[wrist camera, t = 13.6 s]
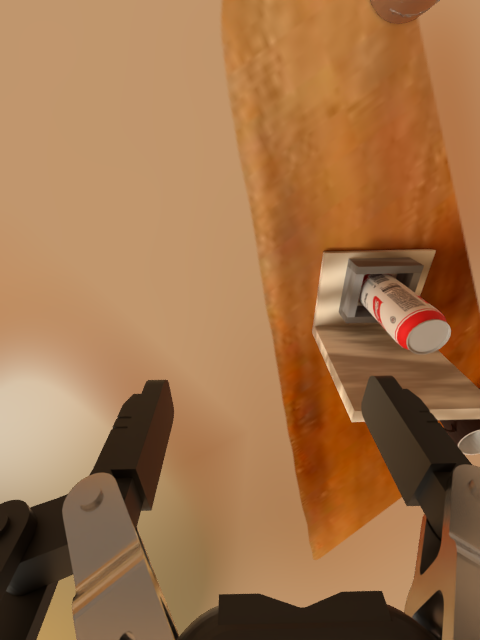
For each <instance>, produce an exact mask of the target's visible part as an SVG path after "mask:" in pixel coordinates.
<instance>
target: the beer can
mask: <svg viewBox="0 0 480 640" xmlns="http://www.w3.org/2000/svg"><path fill="white" fill-rule="evenodd" d="M359 301H360V302H361V303H362V304H363V305H364V307H365V308H366V309H367V310H368V311H369V312H370V313H371V314H372V316H373V317H374V318H375V319H376V320H377V321H378V322H379V323H380V324H381V326H382V327H383V328H384V329H385V330H386V331H387V332H388V333H389V335H390V336H391V337H392V338H393V339H394V340H395V341H396V342H397V343H398V344H399V345H400V346H401V347H403V348H405V349H408V350H410V351H411V352H413V353H416V354H428V353H432V352H434V351H436V350H438V349H440V348H441V347H442V346H444V344H445V343H446V342H447V341H448V339H449V337H450V335H451V329H450V326H449V325H448V324H447V322H446V319H445V317H444V315H443V314H442V313H441V312H440V311H439V310H437V309H436V308H435V307H433V306H432V305H431V304H429V303H428V302H427V301H425V300H424V299H423V298H421V297H420V296H419V295H417V294H416V293H414V292H413V291H412V290H410V289H409V288H408V287H406V286H405V285H404V284H402V283H401V282H400V281H398V280H397V279H395V278H394V277H393V276H391V275H390V274H366V275H365V276H364V278H363V282H362V287H361V291H360V295H359Z"/></svg>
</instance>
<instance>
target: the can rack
mask: <svg viewBox="0 0 480 640" xmlns="http://www.w3.org/2000/svg"><path fill="white" fill-rule="evenodd" d="M435 252H436V251H435V250H433V249H411V250H367V251H323V258H322V265H321V272H320V279H319V287H318V294H317V301H316V308H315V315H314V323H313V330H312V333H313V336H314V338H315V340H316V342H317V345H318V347H319V349H320V351H321V354H322V356H323V358H324V360H325V363H326V365H327V367H328V369H329V372H330V374H331V376H332V379H333V381H334V383H335V385H336V388H337V390H338V392H339V394H340V397H341V399H342V401H343V403H344V406H345V408H346V410H347V412H348V415H349V417H350V419H351V421H352V422H365V420H364V418H363V415H362V411H361V403H362V399H363V396H364V393H365V389H366V386H367V383H368V379H369V377H370V376H386V375H391V376H393V377H394V378H395V379H396V380H397V382H398V383H399V384H400V386H401V387H402V389H409V390H410V391H411V392H412V393H414V394H415V395H416V396H418V397H419V398H420V399H421V400H422V401H423V402H424V404H425V405H426V406H427V408H428V409H429V410H430V413H432V414H433V415H434V417H435V418H436V419H437V420H460V419H480V389H478V388H477V387H476V386H475V385H474V384H473V383H472V382H471V381H470V380H469V379H468V378H467V377H466V376H465V375H464V374H462V373H461V372H460V371H459V370H458V369H457V368H456V367H455V366H454V365H453V364H452V363H451V362H450V361H449V360H448V359H446V358H445V357H444V356H443V355H442V354H441V353H440V352H439V351H438V350H436V351H434V352H432V353H428V354H416V353H413V352H411V351H410V350H408V349H405V348H403V347H401V346H400V345H399V344H398V343H397V342H396V341H395V340H394V339H393V338H392V337H391V336H390V335H389V333H388V332H387V331H386V330H385V329H384V328H383V327H382V326H381V324H380V323H379V322H378V321H377V320H376V319H375V318H374V317H373V316H372V314H371V313H370V312H369V311H368V310H367V309H366V308H365V307H364V305H363V304H362V303H361V302H360V301H359V295H360V291H361V287H362V282H363V278H364V276H365V275H366V274H390V275H391V276H393V277H394V278H395V279H397V280H398V281H400V282H401V283H402V284H404V285H405V286H406V287H408V288H409V289H410V290H412V291H413V292H414V293H416V294H417V295H419V296H420V295H421V292H422V289H423V286H424V283H425V280H426V278H427V275H428V272H429V269H430V266H431V263H432V261H433V258H434V255H435Z"/></svg>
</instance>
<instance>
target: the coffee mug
mask: <svg viewBox="0 0 480 640" xmlns="http://www.w3.org/2000/svg"><path fill="white" fill-rule="evenodd" d="M440 421H441V423H442V425H443V426H444V429H445V431H446V432H447V433H448V434H449V436H450V437H451V438H452V440H453V441H454V442H455V444H456V445H457V446H458V447H459V449H460V450H461V451H462V453H463V454H466V455H475V454H480V419H460V420H440Z"/></svg>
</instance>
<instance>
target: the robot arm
mask: <svg viewBox="0 0 480 640" xmlns="http://www.w3.org/2000/svg"><path fill="white" fill-rule="evenodd" d="M370 1H371V4H372V6H373V7H374V9H375V11H376V12H377V14H378V15H379V16H380V17H382V18H383V19H384V20H386V21H388V22H390V23H397V24H400V23H406V22H409V21H412V20H414V19H416V18H417V17H419V16H420V15H421V14H423V13H424V12H426V11H427V10H428V9H430V8H431V7H432V6H433V5H434V4H436V3H437V2H438V1H439V0H370ZM361 411H362V415H363V418H364V420H365V422H366V424H367V426H368V428H369V431H370V433H371V435H372V437H373V439H374V441H375V443H376V445H377V447H378V449H379V451H380V453H381V455H382V457H383V459H384V461H385V463H386V465H387V467H388V469H389V471H390V473H391V475H392V477H393V479H394V481H395V483H396V485H397V487H398V489H399V491H400V493H401V495H402V497H403V499H404V501H405V503H406V505H407V506H421V508H422V509H423V512H424V513H425V514H424V516H423V519H422V525H421V532H420V539H419V546H418V553H417V560H416V567H415V574H414V579H413V583H412V586H411V588H410V590H409V593H408V596H407V600H406V604H405V609H404V612H402V611H400V610H398V609H396V608H394V607H392V606H390V605H387V604H386V602H385V599H384V596H383V593H382V591H361V592H360V591H357V592H340V593H338V594H336V595H333V596H331V597H329V598H326V599H324V600H322V601H319V602H318V603H315V604H313V605H310V606H308V607H305V608H300V607H296V606H294V605H291V604H288V603H285V602H282V601H279V600H276V599H273V598H270V597H267V596H264V595H261V594H223V595H219V606H217V607H214V608H212V609H210V610H208V611H207V612H205V613H204V614H202V615H200V616H199V617H198V618H197V619H196V620H194V621H193V622H192V623H191V624H190V625H189V626H188V627H187V628H186V629H185V630H184V632H183V633H182V634H181V635H180V636H179V634H178V631H177V629H176V626H175V623H174V621H173V618H172V615H171V613H170V610H169V608H168V605H167V603H166V600H165V598H164V595H163V593H162V591H161V588H160V586H159V583H158V581H157V578H156V575H155V573H154V570H153V568H152V565H151V563H150V560H149V557H148V555H147V552H146V549H145V547H144V544H143V541H142V539H141V536H140V534H139V531H138V528H137V523H138V519H139V516H140V512H141V511H144V510H146V511H147V510H151V509H152V505H153V501H154V497H155V493H156V489H157V485H158V481H159V477H160V473H161V469H162V464H163V460H164V456H165V452H166V448H167V444H168V440H169V436H170V432H171V428H172V424H173V418H174V407H173V402H172V397H171V392H170V387H169V383H168V380H148V381H147V382H146V384H145V386H144V389H143V391H142V394H133V395H132V396H131V397H130V398H129V399H128V400H127V401H126V402H125V403H124V404H123V406H122V408H121V410H120V412H119V415H118V418H117V419H116V421H115V423H114V425H113V429H112V430H111V432H110V434H109V436H108V438H107V440H106V443H105V445H104V447H103V449H102V451H101V453H100V455H99V457H98V460H97V462H96V464H95V466H94V469H93V470H92V472H91V473H90V475H89V476H88V477H86V478H84V479H82V480H81V481H80V482H78V483H77V484H76V485H75V486H74V487H73V488H72V490H71V491H70V492H69V493H68V494H67V495H65V496H62V497H60V498H57V499H54V500H51V501H48V502H45V503H42V504H39V505H36V506H33V507H31V508H30V507H29V506H28V505H27V504H26V503H25V502H24V501H21V500H11V501H7V502H4V503H2V504H0V640H36V639H37V636H38V634H39V631H40V628H41V626H42V623H43V621H44V618H45V615H46V613H47V610H48V607H49V605H50V602H51V599H52V597H53V594H54V592H55V589H56V586H57V583H58V581H59V580H61V579H63V578H66V577H68V576H70V575H72V574H73V575H74V581H75V587H76V595H75V597H74V598H73V602H72V611H73V620H74V626H75V632H76V638H77V640H480V467H477V466H474V465H472V464H471V463H470V462H469V460H468V459H467V458H466V457H465V455H464V454H463V453H462V451H461V450H460V449H459V447H458V446H457V445H456V444H455V442H454V441H453V440H452V438H451V437H450V436H449V435H448V433H447V432H446V431H445V429H444V428H443V427H442V426H441V424H440V423H438V420H437V419H436V418H435V417H434V415H433V414H432V413H430V410H429V409H428V408H427V406H426V405H425V404H424V402H423V401H422V400H421V399H420V398H419V397H418V396H416V395H415V394H414V393H412V392H411V391H410V390H409V389H402V387H401V386H400V384H399V383H398V382H397V380H396V379H395V378H394V377H393V376H391V375H386V376H370V377H369V379H368V383H367V386H366V389H365V393H364V396H363V399H362V403H361Z"/></svg>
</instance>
